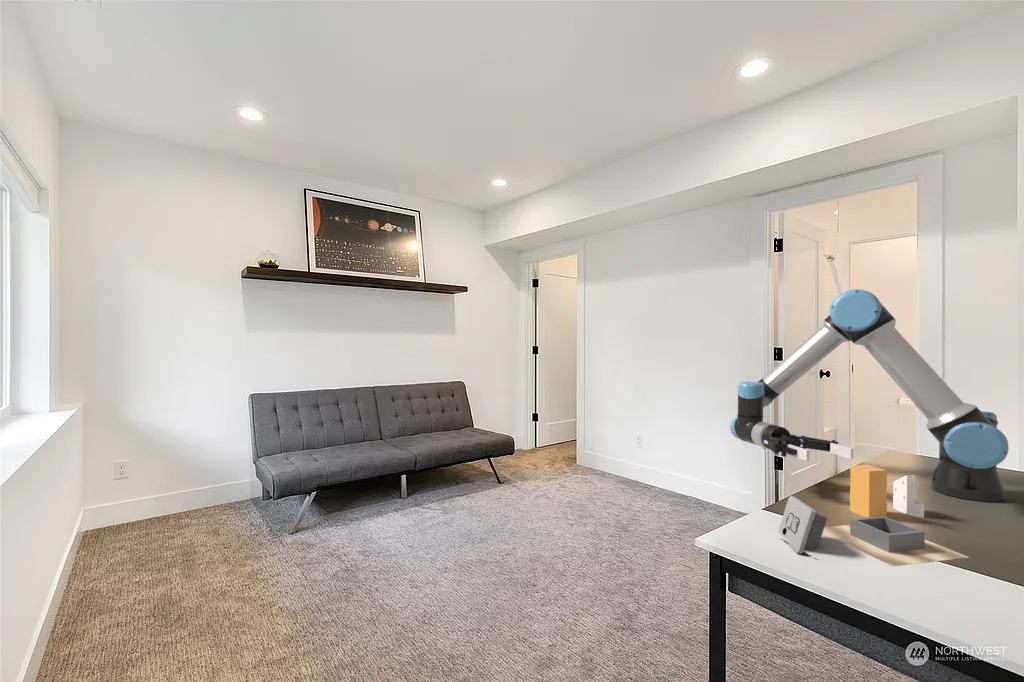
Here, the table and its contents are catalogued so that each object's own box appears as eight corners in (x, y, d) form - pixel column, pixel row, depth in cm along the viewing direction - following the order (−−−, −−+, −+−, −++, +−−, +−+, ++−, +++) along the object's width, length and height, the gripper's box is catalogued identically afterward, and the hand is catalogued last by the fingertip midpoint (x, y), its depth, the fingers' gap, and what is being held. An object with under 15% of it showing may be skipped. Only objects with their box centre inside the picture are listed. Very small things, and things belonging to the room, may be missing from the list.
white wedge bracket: (917, 512, 113) (907, 474, 117) (896, 520, 121) (886, 484, 125) (936, 513, 112) (924, 475, 116) (912, 521, 120) (902, 485, 125)
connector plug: (867, 513, 119) (867, 464, 119) (886, 521, 114) (887, 470, 114) (849, 514, 118) (850, 465, 118) (868, 522, 113) (869, 471, 113)
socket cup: (883, 531, 105) (883, 516, 105) (924, 548, 97) (924, 531, 96) (850, 534, 103) (850, 519, 103) (888, 552, 95) (889, 535, 95)
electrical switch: (776, 536, 105) (781, 494, 105) (801, 539, 105) (806, 497, 104) (797, 555, 96) (803, 509, 96) (825, 559, 95) (830, 512, 95)
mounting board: (880, 526, 110) (880, 522, 110) (969, 562, 93) (969, 557, 93) (813, 532, 107) (813, 528, 107) (892, 571, 89) (892, 565, 89)
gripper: (806, 447, 150) (869, 466, 129) (734, 450, 145) (788, 470, 124) (807, 423, 149) (870, 438, 129) (735, 425, 145) (789, 441, 124)
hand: (830, 454), depth 126 cm, fingers open, 13 cm apart
